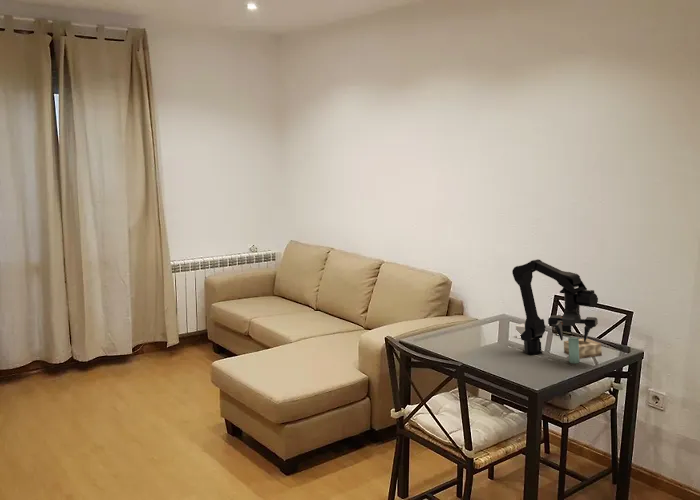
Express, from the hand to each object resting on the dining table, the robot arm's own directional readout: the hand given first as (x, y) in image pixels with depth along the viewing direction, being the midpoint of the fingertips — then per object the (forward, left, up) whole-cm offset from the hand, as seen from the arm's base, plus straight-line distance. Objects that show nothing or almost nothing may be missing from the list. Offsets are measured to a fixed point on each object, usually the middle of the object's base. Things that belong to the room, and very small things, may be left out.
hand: (573, 341), depth 254 cm
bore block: (+10, +8, -9) cm, 15 cm away
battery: (+20, +40, -9) cm, 46 cm away
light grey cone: (+2, +45, -9) cm, 46 cm away
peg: (0, 0, -9) cm, 9 cm away
